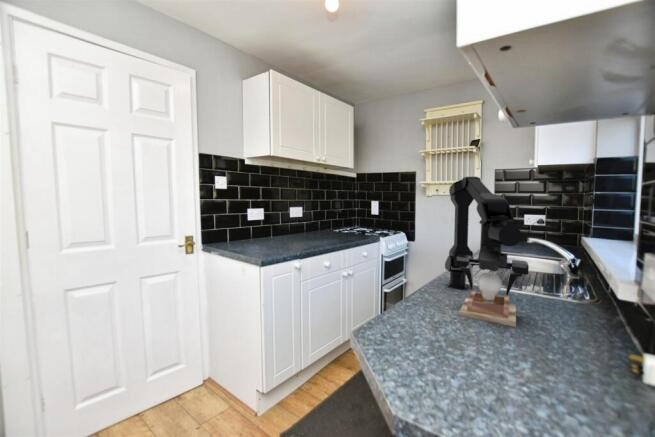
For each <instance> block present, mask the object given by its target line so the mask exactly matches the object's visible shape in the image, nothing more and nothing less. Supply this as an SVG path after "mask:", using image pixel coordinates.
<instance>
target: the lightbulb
mask: <svg viewBox="0 0 655 437" xmlns="http://www.w3.org/2000/svg"><path fill="white" fill-rule="evenodd" d="M476 281H477V282H476V284H477V287H478V288H479V291H480V293H482V296H483V300H484V303H490V304H493V301H494V298H495V295H497V293H499V291H500V290H501V288H502V280H501V278H500V277H499V276H498V275H497V274H495V273H493V272H483V273H481V274H479V276H478V277H477V280H476Z"/></svg>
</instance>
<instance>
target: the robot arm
mask: <svg viewBox="0 0 655 437" xmlns="http://www.w3.org/2000/svg"><path fill="white" fill-rule="evenodd" d="M448 193H449V195H450V201H451V202H452V205H453V206H454V232H453V234H454V237H453V240H454V241H453V245H452V247H451V248H450V249H449V252H448V256H447V258H446V260H445V262H444V268H445V270H446V271H447V272H449V282H448V284H447V285H446V286H447V287H449V288H454V289H455V288H456V289H462V290H466V289H467V287H468V284H469V287H470V290H471V291H473V289H474V277H473V275H474V273H473V267H474V266H478V268H479V270H481V271H482V270H483V271H485V270H488V271H493V272H497V271H499V269H504V270H510V271H509V275H508V280H507V286H506V290H505V291H506V295H505V296H509V293H510V291H511V289H512V287H513V285H514V283H515V282H516V280H517V279H518V278H522V277H523V275H529V268H530V267H529V263H528V262H527V261H526V260H518V259H517V260H516V259H511V262H508V254H507V253H503V246H506V247H515V246H517V245H518V244H519V243H520V242H521V241H522V236H523V235H522V232H521V229H520V228H519V227H518V226H516V225H515V219H514V218H515V215H514V213H513V211H512V209H511V206H510V204H509V202H508V200H507V199H506V198H505V197H503V196H502V195H498V194H495V193H492V192H491V190H490V189H488V187H487V186H486V185H485V184H484V183H483V182H482V179H481V177H478V176H465V177H462V179H460V180H458V181H457V180H456V181H455V182H453V183H452V184H451V185H450V186H449V192H448ZM474 201H475V203H477V206H476V211H477V214H478V215H479V217H480V220H479V222H478V223H479V224H480V246H479V253H478V258H474V252H473V250H471V248H470V247H469V217H470V216H469V212H470V211H469V210H470V206H471V204H473V202H474ZM466 282H468V283H466Z"/></svg>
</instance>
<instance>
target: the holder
mask: <svg viewBox="0 0 655 437" xmlns="http://www.w3.org/2000/svg"><path fill="white" fill-rule="evenodd" d="M516 307H517V306H516V305H511V304H510V296H506V295H505V296H504V295H499V294H498V295H497V294H496V295H495V298H494V301H493V304H490V303H484V300H483V296H482V292H481V291H480V292H479V291H473V290H471V292H470V294H469V296H468V297H465V299H464V301H463V303H462V306H461V308H460V310H459V316H460V317H465V318H470V319H476V320H480V321H484V322H489V323H494V324H499V325H505V326H510V327H515V328H516V327H517V308H516Z"/></svg>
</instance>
